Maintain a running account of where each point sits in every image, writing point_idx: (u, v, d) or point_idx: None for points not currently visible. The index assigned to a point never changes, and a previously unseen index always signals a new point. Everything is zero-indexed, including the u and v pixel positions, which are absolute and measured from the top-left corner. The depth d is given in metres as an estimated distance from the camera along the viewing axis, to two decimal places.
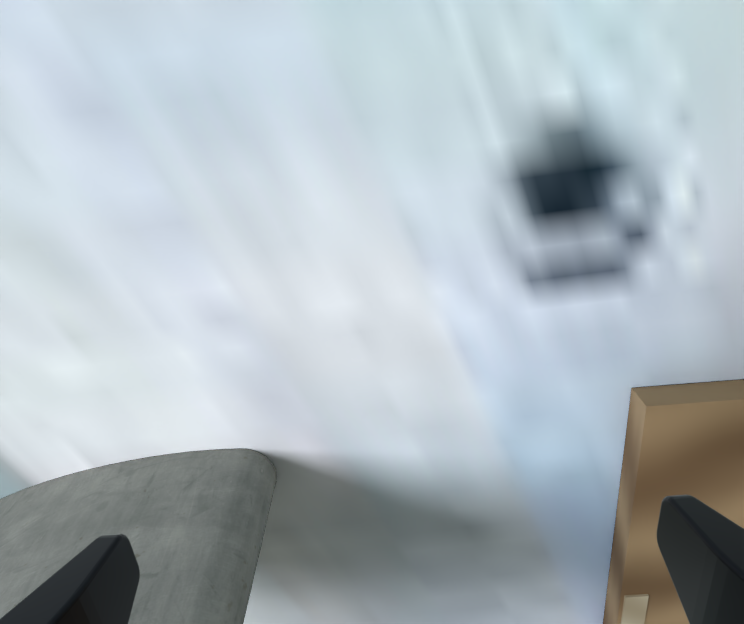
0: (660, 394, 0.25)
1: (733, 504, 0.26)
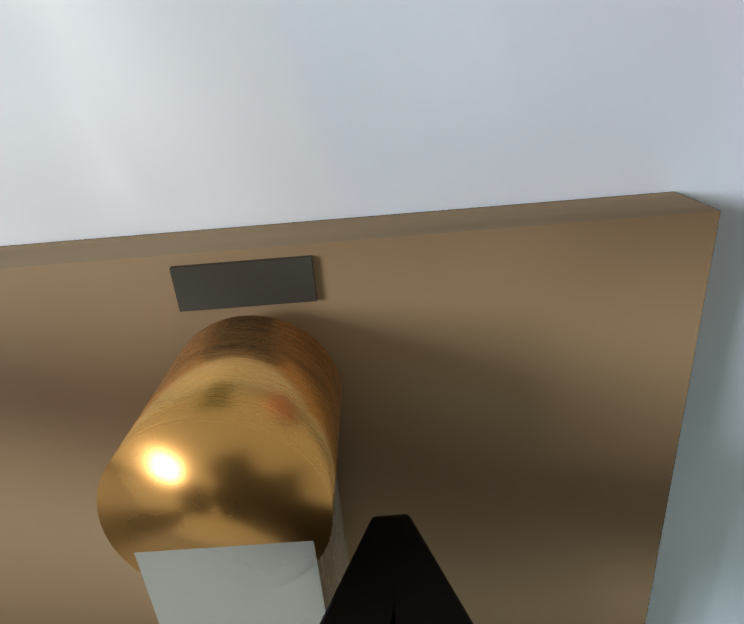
0: None
1: None
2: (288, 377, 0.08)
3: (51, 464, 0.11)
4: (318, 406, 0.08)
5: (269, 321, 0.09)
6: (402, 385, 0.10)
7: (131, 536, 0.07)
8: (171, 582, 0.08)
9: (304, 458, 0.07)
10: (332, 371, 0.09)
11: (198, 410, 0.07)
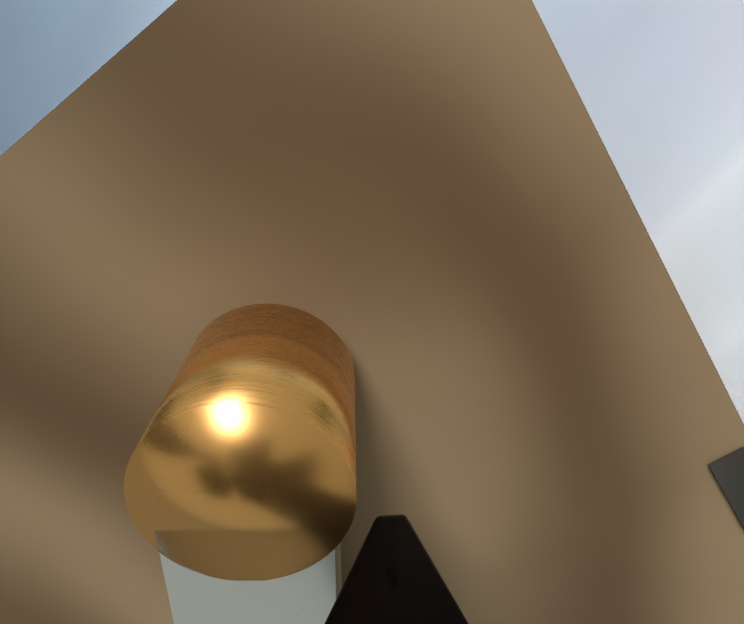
0: None
1: None
2: (316, 367, 0.08)
3: (502, 432, 0.11)
4: (343, 397, 0.08)
5: (292, 312, 0.09)
6: (688, 598, 0.14)
7: (154, 514, 0.07)
8: (187, 562, 0.08)
9: (336, 446, 0.07)
10: (349, 364, 0.09)
11: (236, 393, 0.07)
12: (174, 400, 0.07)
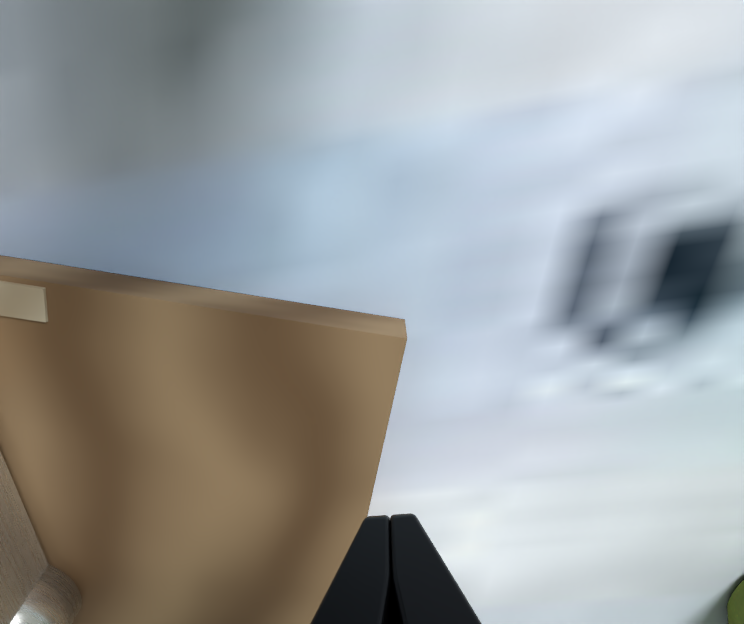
0: None
1: (218, 428, 0.20)
2: None
3: (258, 530, 0.22)
4: None
5: None
6: None
7: None
8: None
9: None
10: None
11: None
12: None
